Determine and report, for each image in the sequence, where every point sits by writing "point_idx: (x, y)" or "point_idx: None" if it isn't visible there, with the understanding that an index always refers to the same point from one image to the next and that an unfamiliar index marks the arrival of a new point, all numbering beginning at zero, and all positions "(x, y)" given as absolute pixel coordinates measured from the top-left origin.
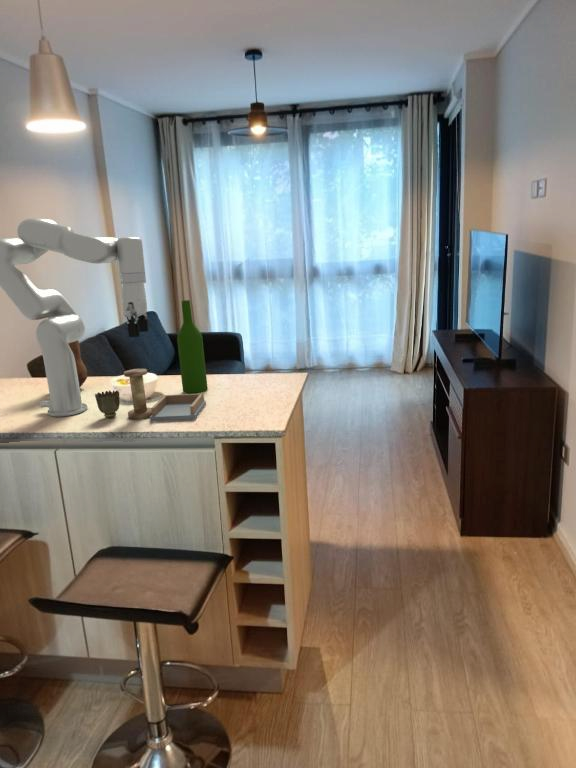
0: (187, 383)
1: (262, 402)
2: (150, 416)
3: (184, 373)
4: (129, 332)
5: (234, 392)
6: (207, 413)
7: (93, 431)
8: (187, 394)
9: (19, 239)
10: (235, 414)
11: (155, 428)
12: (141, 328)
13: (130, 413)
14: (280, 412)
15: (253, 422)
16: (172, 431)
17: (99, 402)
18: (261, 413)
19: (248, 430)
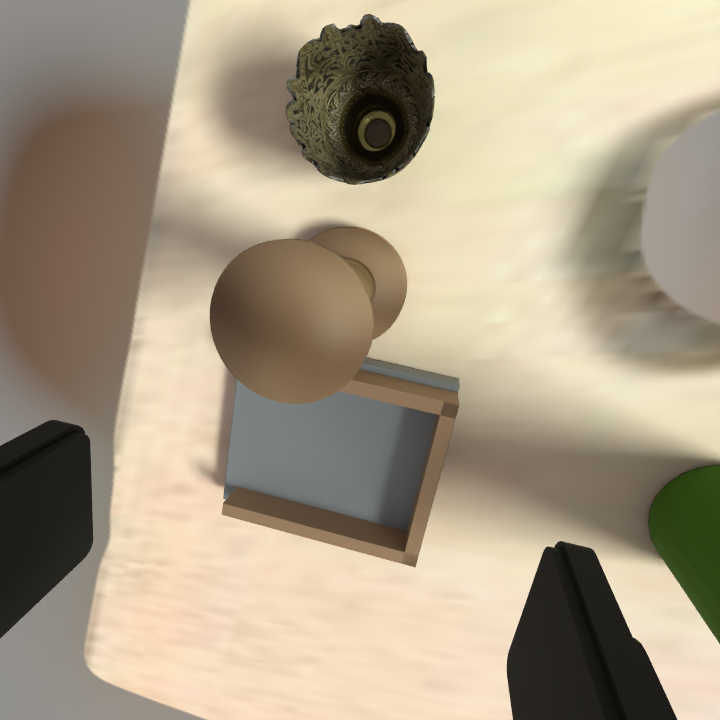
0: (689, 517)
1: (372, 703)
2: None
3: None
4: (1, 461)
5: None
6: None
7: (178, 97)
8: (425, 505)
9: None
10: (257, 608)
11: (165, 355)
12: (541, 632)
13: (325, 242)
14: (240, 716)
15: (162, 636)
16: (122, 413)
17: (312, 70)
18: (245, 673)
19: (94, 612)
